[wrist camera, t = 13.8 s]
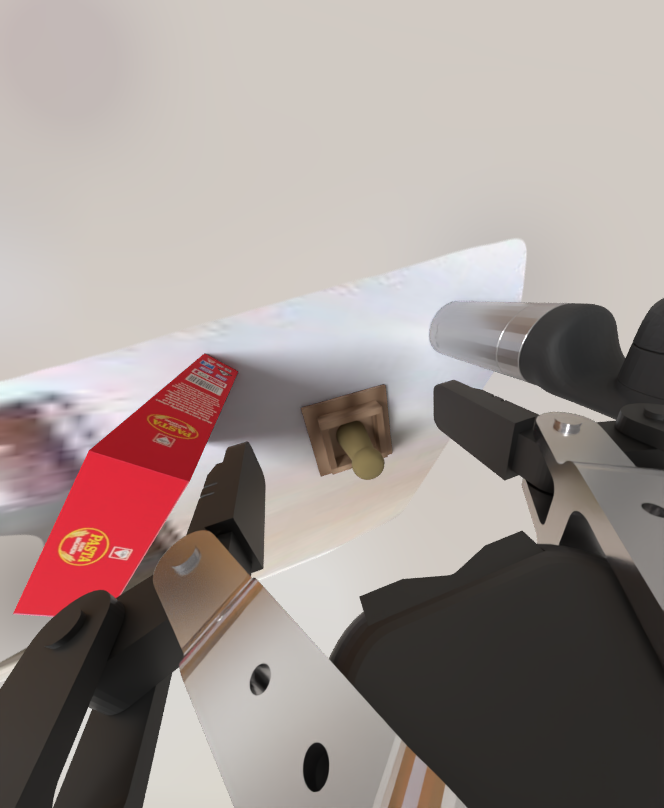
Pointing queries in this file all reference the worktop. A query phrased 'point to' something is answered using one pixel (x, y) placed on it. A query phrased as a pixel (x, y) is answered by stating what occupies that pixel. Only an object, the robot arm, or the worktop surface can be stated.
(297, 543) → the worktop surface
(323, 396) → the worktop surface
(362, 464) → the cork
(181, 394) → the food packaging
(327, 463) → the shaker holder
